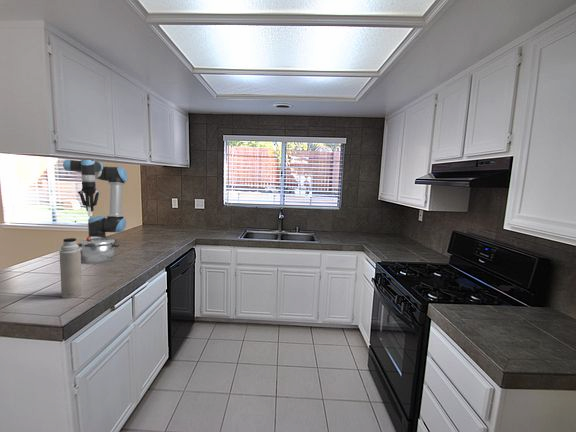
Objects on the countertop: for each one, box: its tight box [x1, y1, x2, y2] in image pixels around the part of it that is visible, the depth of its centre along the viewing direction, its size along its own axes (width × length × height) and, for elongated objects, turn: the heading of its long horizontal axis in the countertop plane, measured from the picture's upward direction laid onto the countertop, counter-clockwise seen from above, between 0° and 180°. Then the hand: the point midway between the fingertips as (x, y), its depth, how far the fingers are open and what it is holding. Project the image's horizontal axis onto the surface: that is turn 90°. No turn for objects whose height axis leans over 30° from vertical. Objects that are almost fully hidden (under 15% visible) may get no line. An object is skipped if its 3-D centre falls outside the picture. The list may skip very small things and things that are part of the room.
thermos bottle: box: [59, 237, 83, 299], centre depth 139 cm, size 8×8×28 cm
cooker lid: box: [80, 237, 116, 247], centre depth 194 cm, size 23×19×4 cm
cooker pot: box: [76, 242, 120, 265], centre depth 197 cm, size 18×25×12 cm
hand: (90, 215), depth 197 cm, fingers closed
